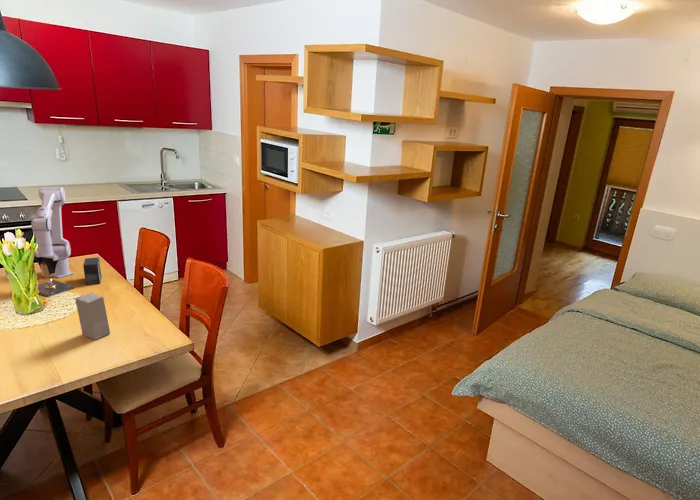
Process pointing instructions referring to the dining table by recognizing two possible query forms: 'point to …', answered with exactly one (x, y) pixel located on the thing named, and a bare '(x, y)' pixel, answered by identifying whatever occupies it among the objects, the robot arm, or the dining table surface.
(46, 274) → the brown hollow prism
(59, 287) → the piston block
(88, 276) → the small box
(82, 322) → the skincare box
